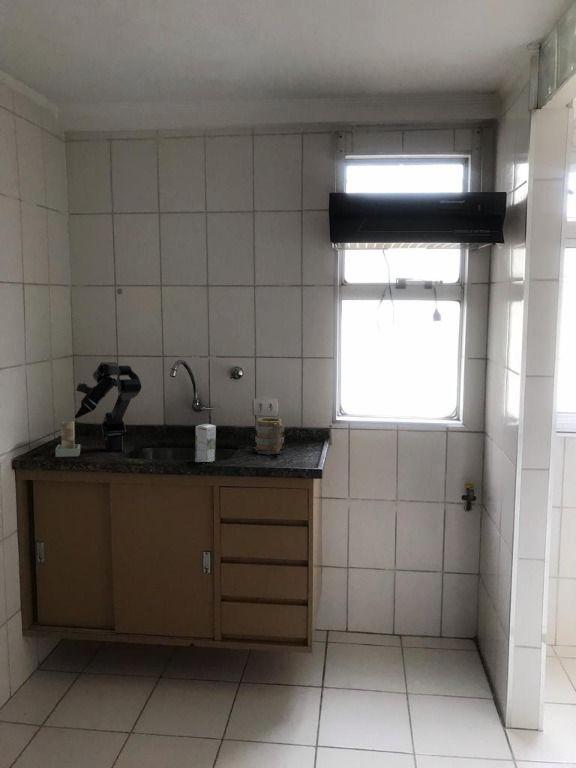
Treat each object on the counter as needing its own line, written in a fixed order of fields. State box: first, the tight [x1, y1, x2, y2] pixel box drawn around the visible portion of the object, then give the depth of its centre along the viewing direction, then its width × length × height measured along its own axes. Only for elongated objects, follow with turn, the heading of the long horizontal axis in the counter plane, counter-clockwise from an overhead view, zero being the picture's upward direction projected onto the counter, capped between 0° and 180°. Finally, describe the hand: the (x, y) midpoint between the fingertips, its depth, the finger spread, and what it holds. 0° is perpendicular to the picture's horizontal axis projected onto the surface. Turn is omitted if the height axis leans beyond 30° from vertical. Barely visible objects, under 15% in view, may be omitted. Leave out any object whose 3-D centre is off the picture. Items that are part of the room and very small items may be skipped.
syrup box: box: [194, 423, 217, 463], centre depth 255 cm, size 6×6×14 cm
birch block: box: [60, 420, 76, 449], centre depth 263 cm, size 4×4×13 cm
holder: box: [55, 443, 81, 458], centre depth 263 cm, size 9×9×3 cm
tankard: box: [253, 417, 285, 452], centre depth 273 cm, size 20×13×15 cm, turn 18°
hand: (76, 416), depth 275 cm, fingers open, 9 cm apart
